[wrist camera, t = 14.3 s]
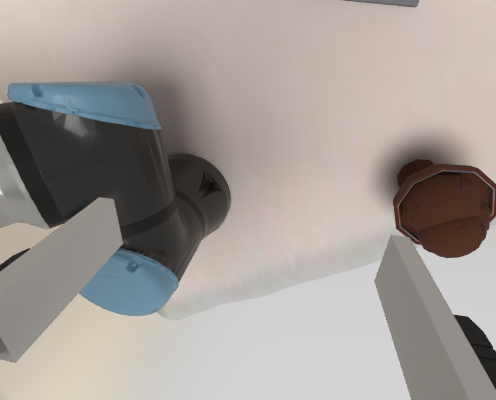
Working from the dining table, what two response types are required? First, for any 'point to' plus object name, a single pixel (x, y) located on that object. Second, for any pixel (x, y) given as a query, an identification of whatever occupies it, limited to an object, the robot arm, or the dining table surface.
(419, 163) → the ice cream bowl
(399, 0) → the mat
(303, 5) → the dining table surface
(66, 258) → the robot arm
